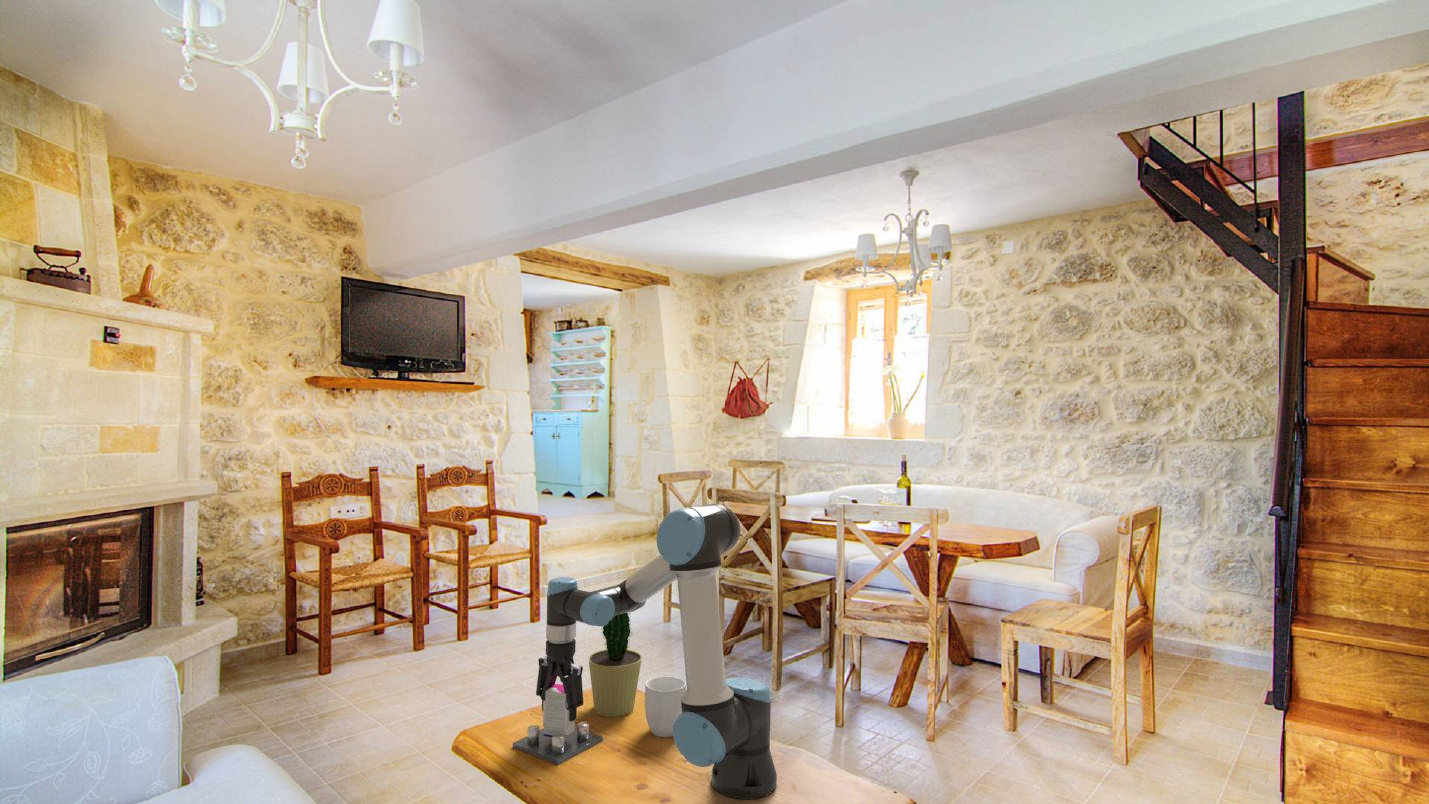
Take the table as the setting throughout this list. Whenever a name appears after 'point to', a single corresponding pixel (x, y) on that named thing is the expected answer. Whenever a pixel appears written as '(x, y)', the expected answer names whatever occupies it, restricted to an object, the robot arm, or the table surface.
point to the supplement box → (555, 711)
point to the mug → (663, 704)
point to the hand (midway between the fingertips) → (558, 728)
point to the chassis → (557, 743)
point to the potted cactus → (615, 670)
